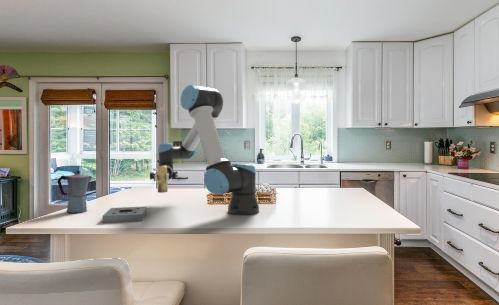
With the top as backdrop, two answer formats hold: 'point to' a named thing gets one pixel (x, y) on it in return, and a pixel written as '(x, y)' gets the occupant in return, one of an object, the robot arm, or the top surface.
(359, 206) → the top surface
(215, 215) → the top surface
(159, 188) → the tan peg
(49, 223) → the top surface
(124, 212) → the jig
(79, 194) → the moka pot
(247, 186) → the robot arm
